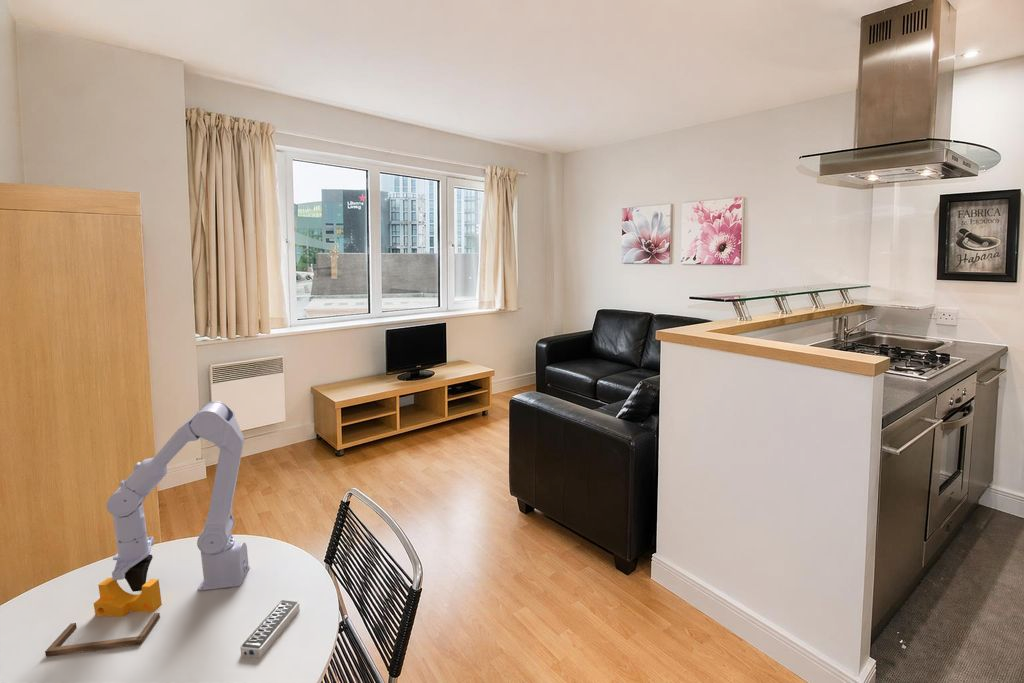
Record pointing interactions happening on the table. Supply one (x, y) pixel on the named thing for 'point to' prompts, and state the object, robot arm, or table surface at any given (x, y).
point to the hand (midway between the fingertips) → (138, 589)
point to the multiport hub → (269, 629)
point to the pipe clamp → (126, 599)
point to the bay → (99, 645)
